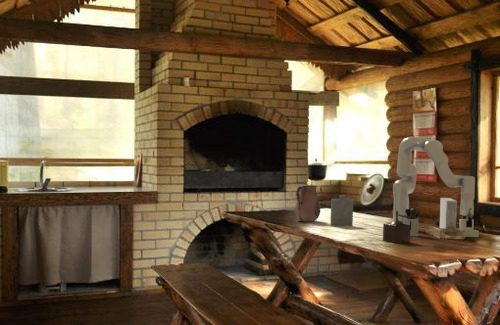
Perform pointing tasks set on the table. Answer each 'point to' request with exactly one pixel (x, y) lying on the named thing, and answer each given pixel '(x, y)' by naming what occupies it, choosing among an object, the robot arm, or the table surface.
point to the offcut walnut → (448, 232)
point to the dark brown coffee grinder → (398, 229)
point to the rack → (439, 231)
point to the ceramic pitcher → (307, 203)
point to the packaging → (448, 212)
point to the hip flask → (341, 212)
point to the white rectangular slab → (463, 225)
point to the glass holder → (412, 222)
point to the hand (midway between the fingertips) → (466, 226)
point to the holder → (472, 233)
